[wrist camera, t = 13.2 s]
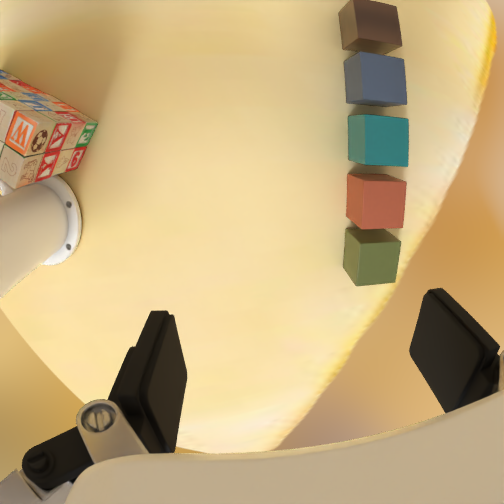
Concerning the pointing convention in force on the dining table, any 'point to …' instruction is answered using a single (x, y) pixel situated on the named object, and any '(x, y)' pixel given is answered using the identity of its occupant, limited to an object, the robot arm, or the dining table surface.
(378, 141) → the teal cube
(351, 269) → the olive cube
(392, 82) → the slate cube
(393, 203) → the terracotta cube
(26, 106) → the stack of blocks
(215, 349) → the dining table surface
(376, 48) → the walnut cube
